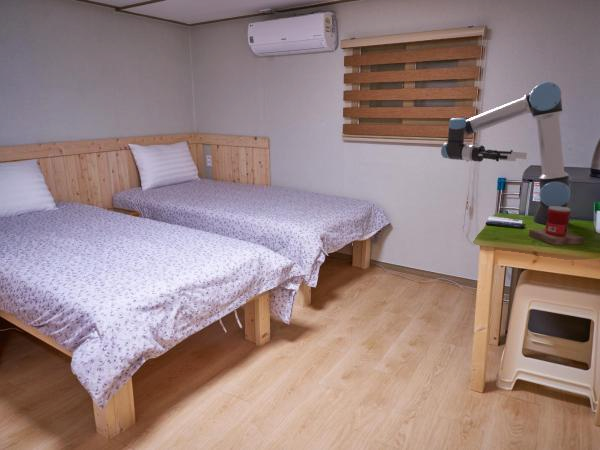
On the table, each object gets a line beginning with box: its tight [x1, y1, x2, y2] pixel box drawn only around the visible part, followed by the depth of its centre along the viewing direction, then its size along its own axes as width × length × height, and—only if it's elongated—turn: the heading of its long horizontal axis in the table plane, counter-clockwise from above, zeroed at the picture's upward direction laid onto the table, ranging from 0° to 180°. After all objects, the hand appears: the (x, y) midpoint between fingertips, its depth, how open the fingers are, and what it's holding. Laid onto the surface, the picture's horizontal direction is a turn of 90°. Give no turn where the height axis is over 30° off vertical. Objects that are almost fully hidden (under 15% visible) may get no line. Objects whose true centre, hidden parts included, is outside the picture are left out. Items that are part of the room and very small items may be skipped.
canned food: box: [544, 206, 572, 236], centre depth 189 cm, size 8×8×11 cm
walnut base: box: [528, 229, 584, 246], centre depth 190 cm, size 14×14×2 cm
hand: (521, 156), depth 202 cm, fingers open, 13 cm apart
